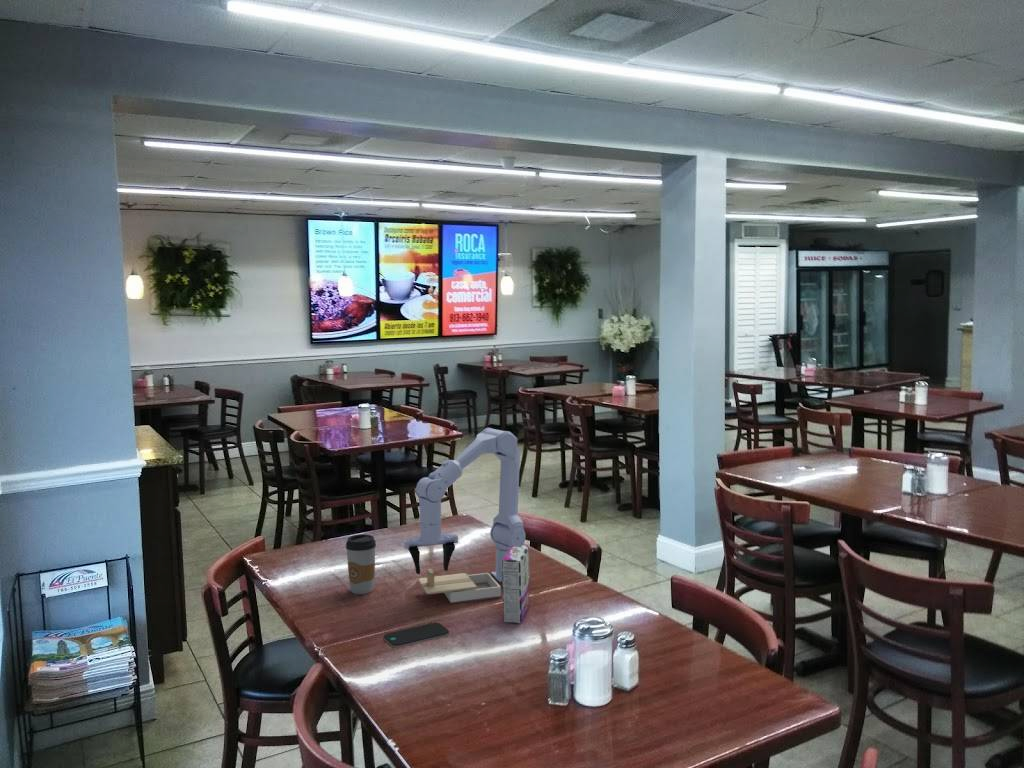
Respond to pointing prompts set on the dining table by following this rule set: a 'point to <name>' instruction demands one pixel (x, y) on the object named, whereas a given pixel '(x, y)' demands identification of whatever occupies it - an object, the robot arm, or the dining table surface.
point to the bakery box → (476, 590)
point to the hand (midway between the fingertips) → (431, 571)
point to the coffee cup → (361, 563)
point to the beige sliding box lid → (446, 583)
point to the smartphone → (416, 634)
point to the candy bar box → (515, 584)
